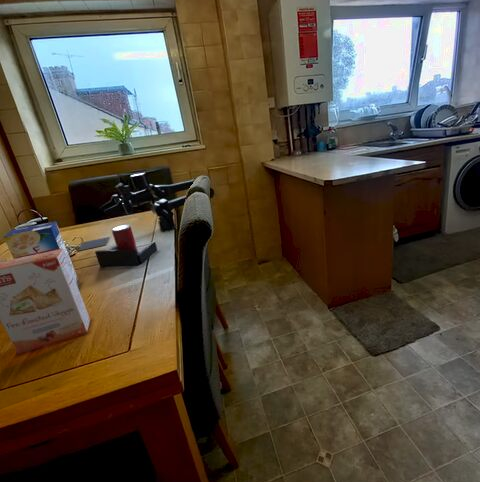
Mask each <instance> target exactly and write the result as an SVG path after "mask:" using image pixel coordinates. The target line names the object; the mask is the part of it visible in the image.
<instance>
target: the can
mask: <svg viewBox="0 0 480 482" xmlns="http://www.w3.org/2000/svg"><path fill="white" fill-rule="evenodd" d="M111 233H112V236H113V240H114V243H115V245H116V246H117V249H136V250H137V254H139V253H138V251H139V250H138V247H137V244H136V243H137V242H136V240H135V237H134V233H133V229H132V226H131V225H130V224H121V225H118V226H114V227H113V228H112V229H111Z"/></svg>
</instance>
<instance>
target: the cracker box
mask: <svg viewBox="0 0 480 482" xmlns="http://www.w3.org/2000/svg"><path fill="white" fill-rule="evenodd" d="M80 292H81V291H80V289H79V285H78V286H77V284H76V281H75V279H74V276H73V274H72V271H71V269H70V266H69V264H68V261H67V259H66V256H65V254H64V251H63V249H59V250H54V251H49V252H45V253H40V254H35V255H31V256H26V257H21V258H16V259H14V258H11V259H8V260H3V261H0V322H1V324H2V326H3V328H4V330H5V332H6V334H7V335H8V337H9V339H10V341H11V343H12V345H13V347H14V348H15V351H16V352H17V354H18V355H21V354H24V353H27V352H30V351H34V350H36V349H40V348H43V347H46V346H50V345H53V344H55V343H59V342H63V341H65V340H69V339H71V338H75V337H78V336H82V335H85V334H87V333H88V331H89V327H90V323H91V318H90V315H89V312H88V309H87V307H86V304H85V302H84V300H83V297H82V295H81V293H80Z"/></svg>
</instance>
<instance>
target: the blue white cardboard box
mask: <svg viewBox="0 0 480 482" xmlns="http://www.w3.org/2000/svg"><path fill="white" fill-rule="evenodd" d="M3 239H4V241H5V243H6V246H7V248H8V250H9V252H10V254H11V257H12V259H16V258H21V257H26V256H31V255H35V254H40V253H45V252H49V251H54V250H59V249H63V251H64V254H65V256H66V259H67V261H68V264H69V266H70V269H71V271H72V274H73V276H74V279H75V281H76V284H77V286H78V287H79V285H80V280H79V277H78V274H77V271H76V269H75V267H74V264H73V261H72V258H71V256H70V253H69V250H68V249H67V246H66V244H65V241H64V239H63V236H62V234H61V231H60V228H59V226H58V223H57V220H56V221H50V222H46V223H45V222H44V223H40V224H36V225H29V226H25V227H20V228H16V229H11V230H10V231H9V232H7V233H6V234H5V235H4V236H3Z"/></svg>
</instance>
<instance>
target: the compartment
mask: <svg viewBox="0 0 480 482" xmlns="http://www.w3.org/2000/svg"><path fill="white" fill-rule="evenodd" d="M137 250H138V249H137ZM137 250H136V249H117V246H116V244H115V245H114V246H112V247H111V248H109V249H99V250H98V249H97V250H95V251H94V252H95V253H94V254H95V256H96V259H97V262H98V265H99V267H100V268H120V267H121V268H122V267H139V266H141V265H144V263H146V262H147V260H149V259H150V258H151V257H152V256H153V255H154V254H155V253H156V252H157V251H158V246H157V243H156V241H152V242H151V243H149V244H148V245H147V246H146V247H144V248H143V249H142V250H138V253H139V254H137Z"/></svg>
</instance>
